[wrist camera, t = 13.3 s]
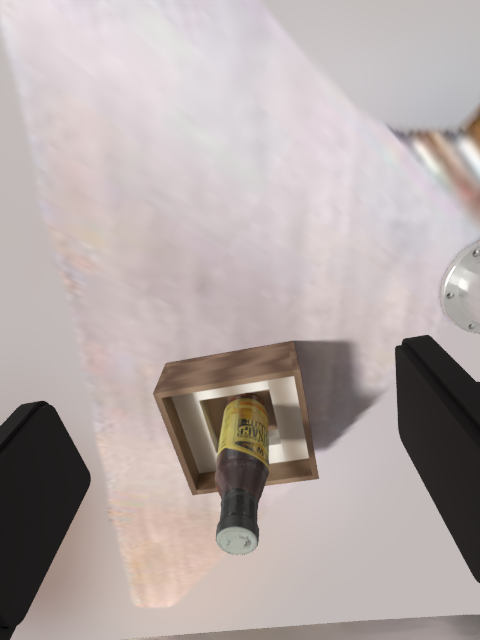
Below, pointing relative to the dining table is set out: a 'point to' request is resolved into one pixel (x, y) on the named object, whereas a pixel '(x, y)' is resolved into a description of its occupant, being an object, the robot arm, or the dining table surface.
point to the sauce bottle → (241, 472)
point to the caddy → (212, 398)
